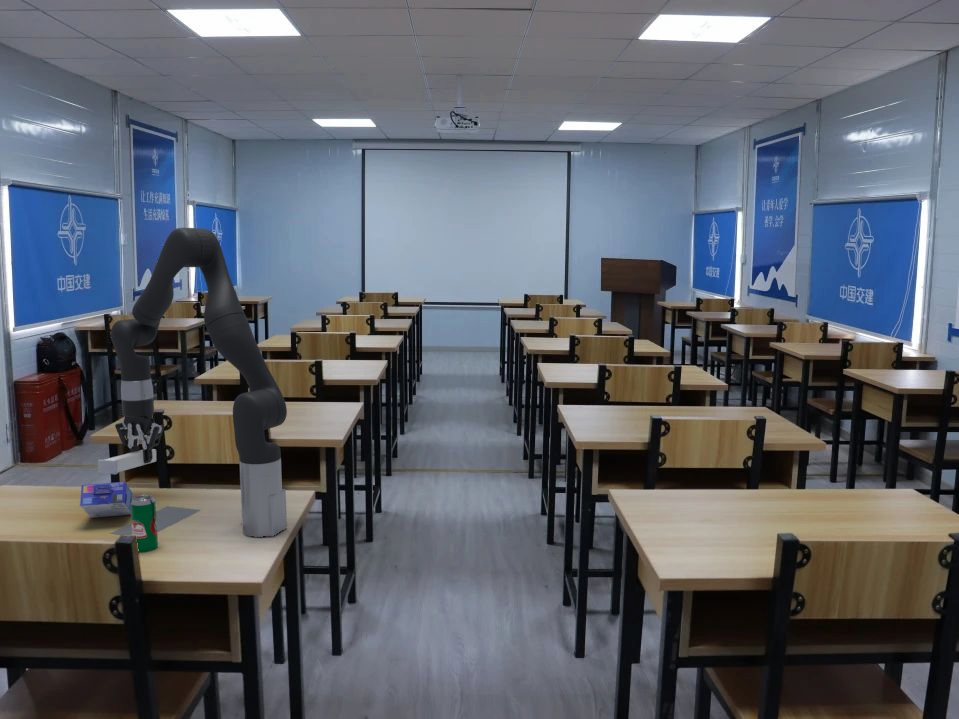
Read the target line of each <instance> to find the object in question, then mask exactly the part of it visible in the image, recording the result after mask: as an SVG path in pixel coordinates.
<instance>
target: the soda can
mask: <svg viewBox="0 0 959 719" xmlns="http://www.w3.org/2000/svg"><path fill="white" fill-rule="evenodd" d="M156 504H157V503H156V499H155V498H154V495H152V494H140V495H136V496H135V495H134V497H133V498H132V502H131V503H130V508H131V515H130V518H131V522H130V524H131V523H132V535H136V536H137V543H138V549H139V552H138V553H147V552H152V551H155V550H156V549H158V548H159V539H158V538H159V537H158V532H157V517H156V511H157V505H156Z"/></svg>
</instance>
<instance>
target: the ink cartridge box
mask: <svg viewBox="0 0 959 719" xmlns="http://www.w3.org/2000/svg"><path fill="white" fill-rule="evenodd" d="M133 497H135V494H134V493H133V491H132V490H131V488H130V487H129V486H128V484H127V483H126V481H117V482H106V483H91V484H90V483H89V484H81V491H80V499H79V500H80V502H79V506H80V507H81V508H82V509H83V511H84V512H85V513H86V514H87V515H88V517H89V518H91V519H93V518H104V517H105V518H106V517H118V516H131V508H130V503H131V502H132V498H133Z"/></svg>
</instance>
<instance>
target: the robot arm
mask: <svg viewBox="0 0 959 719" xmlns="http://www.w3.org/2000/svg"><path fill="white" fill-rule="evenodd" d="M183 268H199V269H200V271H201V273H202V275H203V278H204V281H205V283H206V287H207V289H206V290H207V293H206V294H207V295H206V300H205V301H206V302H205V305H204V313H203V320H204V325H205V328H206V330H207V333H208V335H209V337H210V338H209V339H210V340H211V342H212V345H213V346H214V348H215V349H216V351H217V352H218V353H219V354H220V355H221V356H222V357H223V358H225V360H226V361H228V363H229V364H231V365H232V366H233V367H234V368H235V369H236V370H237V371H239V372H240V374H241V375H242V376H243V378H244V379H245V382H246V383H247V384H248V385H247V386H248V388H249V389H250V391H249V392H248V391H247V392H243V393H240V394H238V395H237V397H236V398H235V399H234V402H233V406H232V422H233V430H234V442H235V447H236V451H237V453H238V458H239V480H240V481H239V484H240V503H241V505H240V506H241V525H242V533H244V534H243V535H244V536H247V535H248V536H247V537H250V536H254V537H253V538H264V537H263V536H266V537H275V536H276V534H277V533H278V534H280V533H281V532H283V531H284V530H286V529H287V528H288V521H287V520H288V519H287V517H288V516H287V492H286V488H283V485H282V484H283V483H282V481H283V480H282V458H281V457H282V455H281V454H282V453H281V451H282V450H281V447H280V446H279V445H278V444H277V443H273V442H269V441H268V442H267V441H266V436H265V430H269V429H273V428H276V427H279V426H281V425H283V424H284V423H285V421H286V418H287V415H288V413H287V412H288V411H287V404H286V400H285V398H284V395H283V393H282V391H281V390H280V388H279V385H278V383H277V382H276V379H275V378H274V376H273V375H272V373H271V371H270V369H269V367H268V365H267V363H266V362H265V359H264V357H263V355H262V353H261V350H260V348H259V345H258V343H257V341H256V338H255V336H254V334H253V331H252V328H251V326H250V323H249V320H248V318H247V316H246V314H245V311H244V309H243V307H242V305H241V303H240V300H239V298H238V294H237V292H236V290H235V286H234V285H233V282H232V279H231V276H230V272H229V270H228V266H227V263H226V260H225V255H224V253H223V249H222V246H221V244H220V241H219V239H218V236H217V235H216V234H215V233H214V232H213V231H212V230H210V229H208V228H202V227H201V228H200V227H199V228H198V227H177V228H174V229H173V230H172V231H171V232H170V233H169V234H168V236H167V238H166V240H165V242H164V243H163V246H162V248H161V251H160V253H159V256H158V258H157V261H156V263H155V266H154V268H153V272H152V274H151V277H150V279H149V281H148V283H147V285H146V286H145V288H144V289H143V291H142V292H141V294H140V295H139V297H138V299H137V300H136V301H135V303H134V304H133V307H132V310H131V313H132V314H131V315H132V316H133V318H130V319H120V320H117V321H116V322H114V323H113V325H112V326H111V330H110V339H111V342H112V344H113V348H114V351H115V354H116V356H117V359H118V362H119V365H120V367H119V368H120V378H121V380H120V382H121V383H120V395H121V396H120V397H121V410H122V412H121V413H122V415H123V417H124V418H123V421H122V422H118V423H116V424H115V426H114V427H115V429H116V432H117V434H118V437H119V439H120V441H121V444H122V445H123V446H127V447H128V448H129V453H132V452H135V451H139V450H140V446H139V444H140V442H141V445H142V450H143V459H144V463H149V462H151V460H152V458H153V456H152V449H154V447H156V446H159V444H160V441H161V438H162V435H163V432H164V430H165V426H164V425H163V424H160V425H159V424H158V423H156V422H155V419H154V417H153V416H154V414H155V402H154V387H153V382H152V373H151V372H152V370H151V361H150V358H149V357H148V356H146V355H139V354H137V353H136V350H135V347H143V346H148V345H150V344H151V343H153V341H154V340H155V339H156V337H157V334H158V330H159V327H160V325H161V324H160V322H161V319H162V318H163V317H164V315H165V314H166V312H168V309H169V308H170V307H171V305H172V303H173V300H174V295H175V294H174V293H175V291H174V284H173V283H174V279H175V277H176V276H177V275H178V274H179V272H180V271H181V270H182V269H183ZM139 441H140V442H139ZM149 464H150V463H149ZM286 527H287V528H286ZM285 528H286V529H285ZM282 530H283V531H282ZM280 531H281V532H280ZM279 532H280V533H279ZM278 534H277V535H278ZM274 535H275V536H274Z"/></svg>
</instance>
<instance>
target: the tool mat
mask: <svg viewBox="0 0 959 719" xmlns="http://www.w3.org/2000/svg"><path fill="white" fill-rule="evenodd" d="M200 511H201V509H195V508H187V507H178V506H177V507H176V506H169V505H168V506H167V505H166V506H165V507H162V508H160V509H158V510H156V517H157V533H159V532H161V531H163V530H165V529H167V528H168V527H171V526H173V525H175V524H177V523H179V522H181V521H182V520H185V519H187V518H189V517H190V516H192V515H194V514H196V513H198V512H200ZM109 534H111V535H119V536H125V535H132V523H131V522H130V523H129V524H126V525H125V526H122V527H120V528H118V529H116V530H114V531H112V532H111V531H110V533H109Z"/></svg>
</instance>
